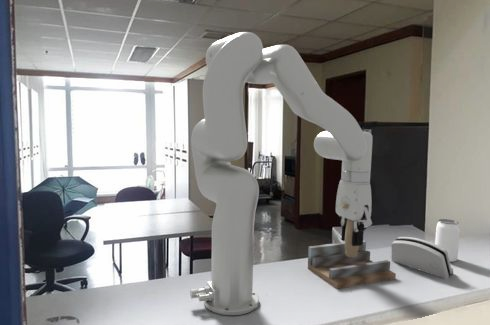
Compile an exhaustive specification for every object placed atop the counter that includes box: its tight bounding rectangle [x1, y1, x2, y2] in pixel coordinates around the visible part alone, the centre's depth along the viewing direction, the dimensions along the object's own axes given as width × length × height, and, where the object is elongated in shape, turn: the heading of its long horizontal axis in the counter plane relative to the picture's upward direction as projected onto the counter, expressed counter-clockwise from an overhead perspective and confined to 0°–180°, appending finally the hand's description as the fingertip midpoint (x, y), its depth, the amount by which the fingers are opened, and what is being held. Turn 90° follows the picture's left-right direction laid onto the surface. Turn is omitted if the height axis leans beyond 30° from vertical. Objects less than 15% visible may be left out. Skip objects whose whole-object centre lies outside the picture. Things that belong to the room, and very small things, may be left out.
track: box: [307, 239, 397, 290], centre depth 107 cm, size 19×14×6 cm
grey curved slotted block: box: [390, 236, 454, 279], centre depth 112 cm, size 17×5×10 cm, turn 39°
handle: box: [342, 202, 361, 258], centre depth 106 cm, size 5×6×15 cm
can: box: [434, 218, 461, 263], centre depth 120 cm, size 6×6×12 cm
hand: (351, 242), depth 106 cm, fingers closed on handle, 3 cm apart
